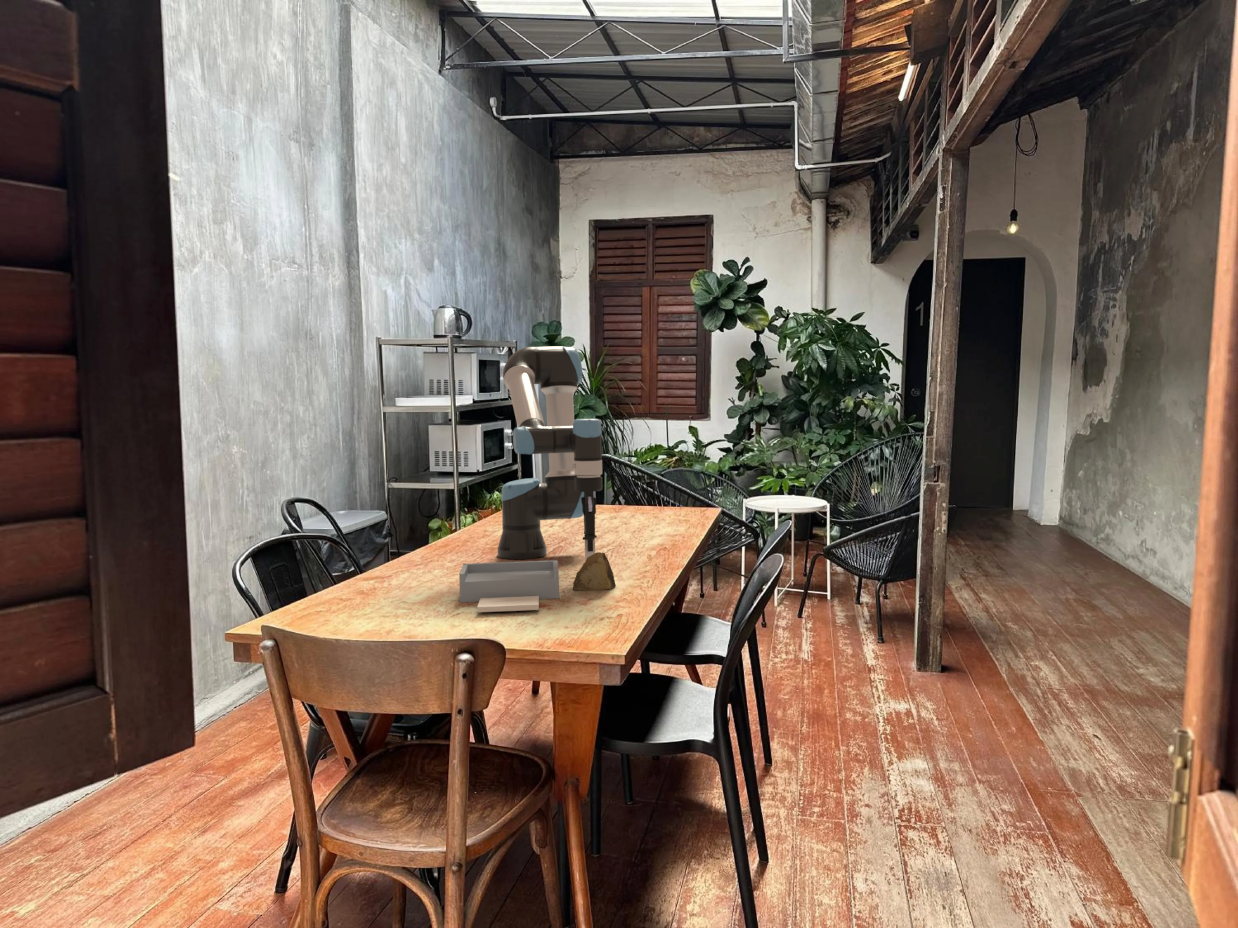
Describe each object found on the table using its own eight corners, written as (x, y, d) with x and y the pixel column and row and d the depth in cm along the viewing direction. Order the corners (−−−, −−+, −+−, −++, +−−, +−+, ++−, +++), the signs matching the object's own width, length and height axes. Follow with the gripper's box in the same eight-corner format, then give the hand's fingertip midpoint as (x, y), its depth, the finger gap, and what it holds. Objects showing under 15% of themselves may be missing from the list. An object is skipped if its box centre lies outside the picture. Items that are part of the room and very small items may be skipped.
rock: (563, 583, 213) (599, 581, 209) (568, 553, 218) (603, 550, 214) (581, 601, 222) (616, 599, 218) (586, 571, 226) (620, 568, 222)
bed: (464, 590, 218) (463, 563, 217) (558, 586, 220) (557, 560, 219) (460, 602, 206) (459, 573, 205) (559, 598, 208) (558, 570, 207)
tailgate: (480, 598, 204) (477, 606, 193) (538, 595, 206) (538, 604, 195) (480, 603, 204) (477, 612, 193) (538, 600, 206) (538, 609, 195)
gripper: (573, 474, 234) (575, 558, 236) (575, 478, 221) (577, 567, 223) (600, 473, 235) (602, 557, 237) (604, 477, 222) (606, 566, 224)
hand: (590, 562), depth 230 cm, fingers closed
